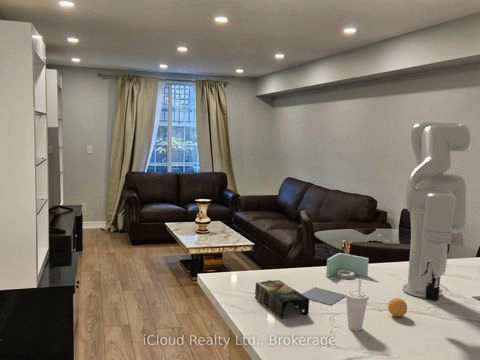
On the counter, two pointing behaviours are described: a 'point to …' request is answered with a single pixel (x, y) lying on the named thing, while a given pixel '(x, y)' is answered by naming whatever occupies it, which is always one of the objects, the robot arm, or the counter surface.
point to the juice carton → (280, 297)
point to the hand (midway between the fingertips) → (431, 299)
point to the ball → (397, 307)
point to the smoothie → (356, 308)
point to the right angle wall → (347, 266)
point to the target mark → (323, 296)
